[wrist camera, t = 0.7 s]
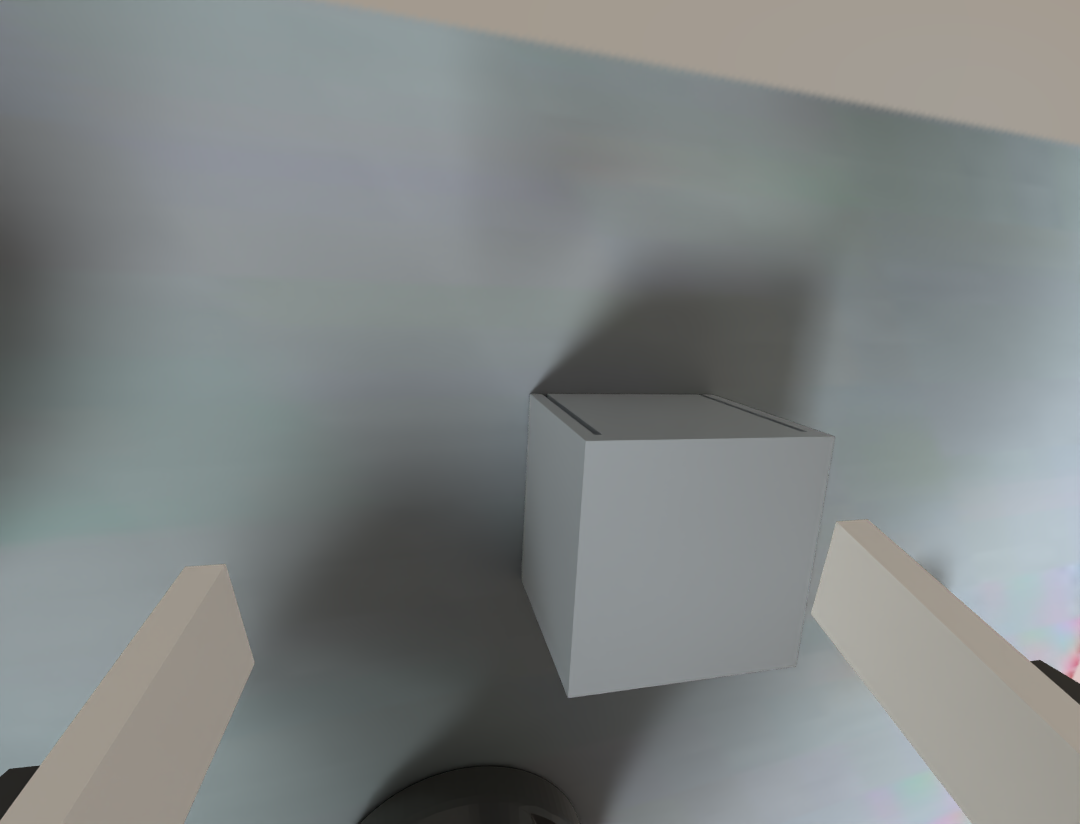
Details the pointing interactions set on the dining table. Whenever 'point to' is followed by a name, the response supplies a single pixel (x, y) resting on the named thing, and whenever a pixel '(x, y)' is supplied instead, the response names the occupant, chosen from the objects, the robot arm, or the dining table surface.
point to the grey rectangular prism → (668, 536)
